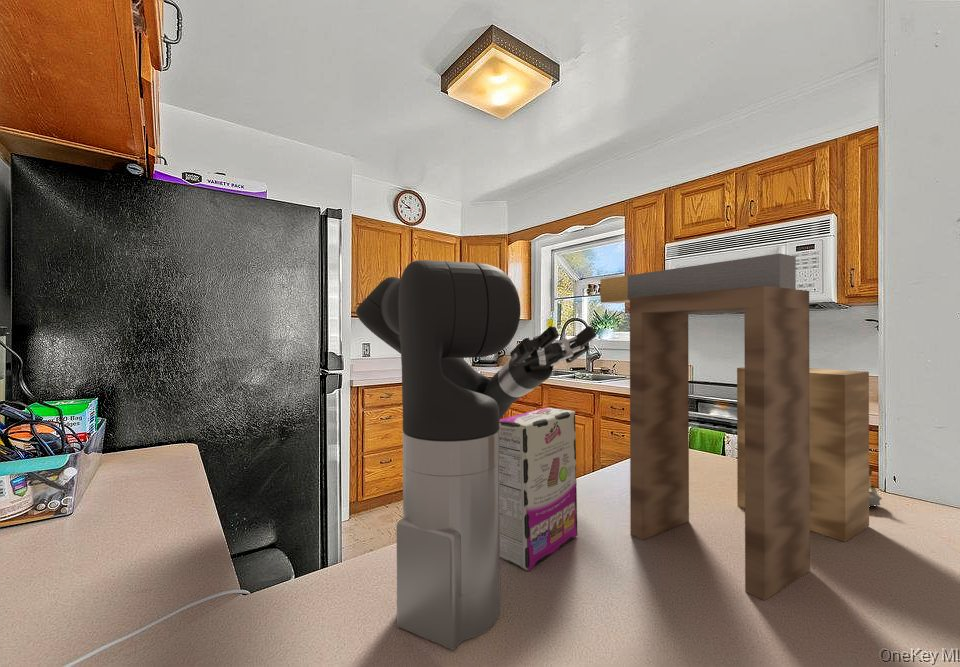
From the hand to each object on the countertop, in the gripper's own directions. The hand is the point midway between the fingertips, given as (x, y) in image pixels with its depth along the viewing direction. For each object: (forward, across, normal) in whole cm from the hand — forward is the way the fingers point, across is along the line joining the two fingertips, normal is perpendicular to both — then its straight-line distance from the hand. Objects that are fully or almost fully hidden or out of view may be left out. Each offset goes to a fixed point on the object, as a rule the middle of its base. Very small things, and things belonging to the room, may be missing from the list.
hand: (574, 330), depth 71 cm
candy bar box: (-4, -17, +29) cm, 34 cm away
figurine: (+10, +32, +37) cm, 50 cm away
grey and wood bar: (+19, 0, +6) cm, 20 cm away
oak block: (+8, +20, +35) cm, 41 cm away
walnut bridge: (+7, 0, +35) cm, 35 cm away
